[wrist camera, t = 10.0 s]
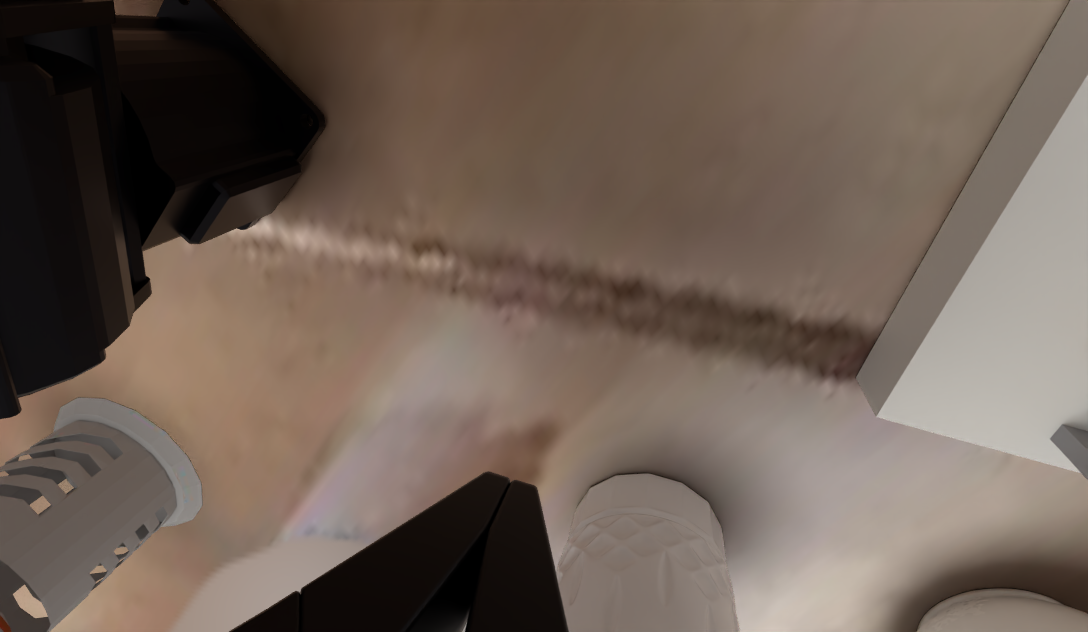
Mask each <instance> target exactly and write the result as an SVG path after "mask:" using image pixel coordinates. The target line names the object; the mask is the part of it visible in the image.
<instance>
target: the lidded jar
mask: <svg viewBox="0 0 1088 632" xmlns="http://www.w3.org/2000/svg"><path fill="white" fill-rule="evenodd" d="M916 632H1088V613H1085V612H1082V611H1080V610H1077V609H1074V608H1071V607H1068V606H1065V605H1063V604H1062V603H1060V602H1058V601H1056V600H1054V599H1052V598H1050V597H1047V596H1044V595H1041V594H1039V593H1034V592H1030V591H1026V590H1018V589H1007V588H992V589H981V590H974V591H969V592H965V593H961V594H958V595H955V596H952V597H950V598H947V599H945V600H943V601H941V602H939V603H938V604H936V605H935V606H934V607H932V608H931V609H930V610H929V611H928V612H927V613H926V614H925V615H924V616H923V618H922V619H921V621H920V623H919V626H918V630H917V631H916Z"/></svg>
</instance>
